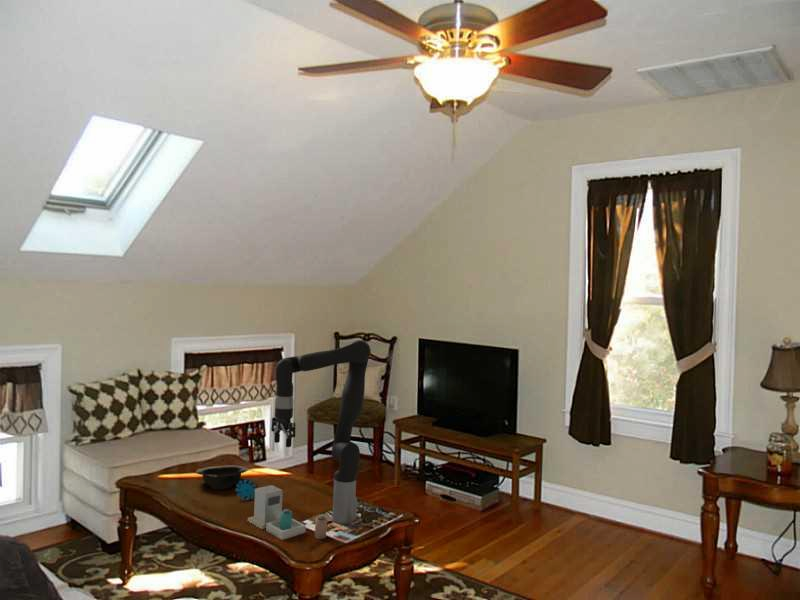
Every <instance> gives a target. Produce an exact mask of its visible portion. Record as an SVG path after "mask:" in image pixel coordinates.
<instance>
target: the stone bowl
mask: <svg viewBox="0 0 800 600" xmlns="http://www.w3.org/2000/svg"><path fill="white" fill-rule="evenodd" d="M249 470H250V468H249V467H245V466H241V465H232V464H231V465H230V464H229V465H228V464H227V465H213V466H206V467H202V468H198V469H196V471H195V474H197V475H200V476H201V475H202V480H203V482H204V483H205V484H206V485H208V486H210V489H211V490H214V491H216V490H217V491H220V490H225V489H231V488H232V487H233V485H234V486H236V485H237V484H239V485H241V484H240V483H239V482H240V481H242V480H241V479H242V474H244V473H246V472H248V471H249Z"/></svg>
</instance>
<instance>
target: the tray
mask: <svg viewBox="0 0 800 600" xmlns="http://www.w3.org/2000/svg"><path fill="white" fill-rule="evenodd" d="M306 529H307V528H306V524H303V523H302V522H301V521H298V520H296V519H295V518H292V525H291V529H287V530H284V531H282V530H281V529H280V520H277V521H274V522H270V523H266V529H265V531H266V532H267V533H269V534H271V535H273V536H274V537H276V538H277V539H280V540H282V541H283V540H286V539H291V538H293V537H296V536H300V535H303V534H306Z"/></svg>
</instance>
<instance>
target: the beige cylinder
mask: <svg viewBox="0 0 800 600" xmlns="http://www.w3.org/2000/svg"><path fill="white" fill-rule="evenodd" d="M314 521H315V522H314V523H315V524H314V538H315V539H319V540H323V539H326V538H327V527H328V526H327V522H328V519H327V517H325V516H324V515H318V516H317V517H316V518H315V520H314Z"/></svg>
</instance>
